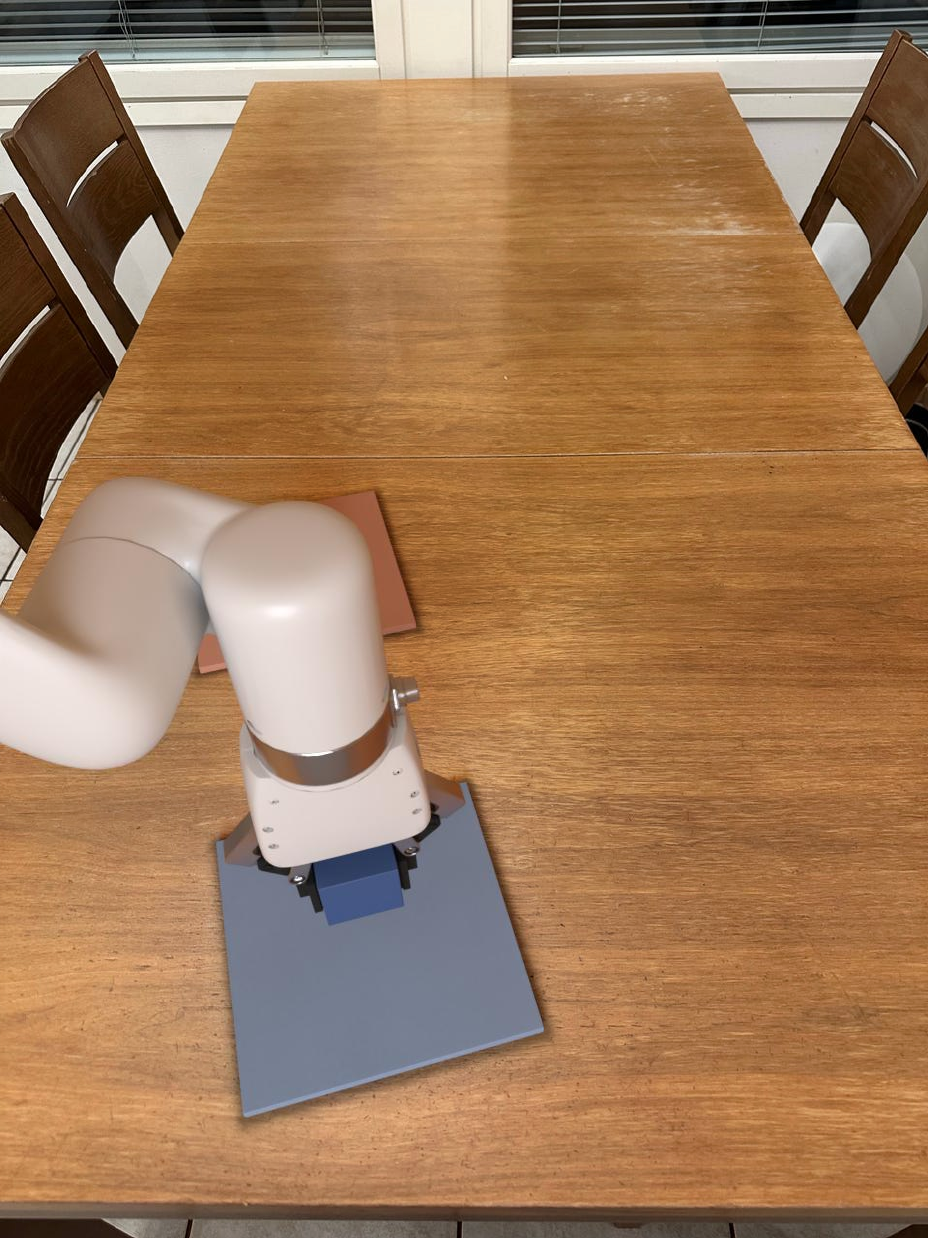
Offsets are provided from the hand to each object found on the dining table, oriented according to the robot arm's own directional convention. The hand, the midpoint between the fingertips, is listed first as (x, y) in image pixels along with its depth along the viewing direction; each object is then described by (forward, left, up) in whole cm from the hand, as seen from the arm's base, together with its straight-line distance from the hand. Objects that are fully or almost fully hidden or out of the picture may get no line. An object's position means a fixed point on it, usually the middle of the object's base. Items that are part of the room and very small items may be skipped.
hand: (359, 879), depth 62 cm
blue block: (0, 0, 0) cm, 0 cm away
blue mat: (0, 0, -8) cm, 8 cm away
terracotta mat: (0, +38, -8) cm, 39 cm away
